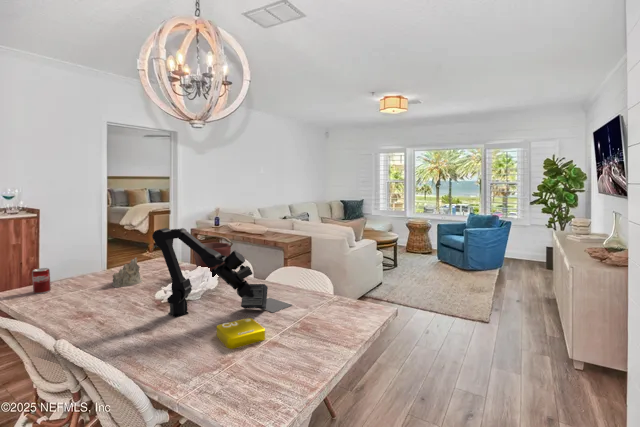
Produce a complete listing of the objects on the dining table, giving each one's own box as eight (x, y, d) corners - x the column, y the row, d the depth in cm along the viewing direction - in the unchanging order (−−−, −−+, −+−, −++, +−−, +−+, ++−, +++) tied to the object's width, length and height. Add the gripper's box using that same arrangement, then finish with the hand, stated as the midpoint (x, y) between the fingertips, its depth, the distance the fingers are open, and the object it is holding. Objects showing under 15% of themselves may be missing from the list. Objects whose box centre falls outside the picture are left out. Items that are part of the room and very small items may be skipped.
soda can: (35, 290, 188) (34, 268, 186) (52, 289, 191) (51, 267, 190) (31, 294, 181) (29, 272, 180) (48, 293, 184) (47, 270, 183)
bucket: (238, 271, 231) (238, 234, 228) (220, 281, 210) (219, 239, 207) (206, 268, 237) (205, 232, 235) (185, 277, 216) (184, 237, 214)
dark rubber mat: (272, 313, 161) (272, 312, 161) (249, 304, 171) (249, 304, 171) (292, 305, 171) (292, 304, 171) (269, 298, 181) (269, 297, 181)
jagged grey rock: (137, 276, 216) (135, 253, 213) (145, 284, 204) (142, 259, 201) (108, 283, 206) (105, 258, 203) (114, 291, 194) (111, 264, 191)
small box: (266, 309, 165) (268, 286, 169) (263, 307, 159) (265, 283, 163) (244, 308, 166) (247, 286, 170) (240, 306, 160) (243, 283, 164)
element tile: (229, 351, 126) (228, 338, 125) (215, 335, 138) (214, 323, 137) (267, 340, 134) (267, 328, 134) (250, 326, 146) (250, 315, 146)
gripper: (246, 266, 149) (271, 288, 155) (236, 257, 166) (259, 277, 172) (227, 286, 146) (254, 308, 152) (219, 275, 163) (244, 295, 169)
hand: (253, 296), depth 161 cm, fingers closed
